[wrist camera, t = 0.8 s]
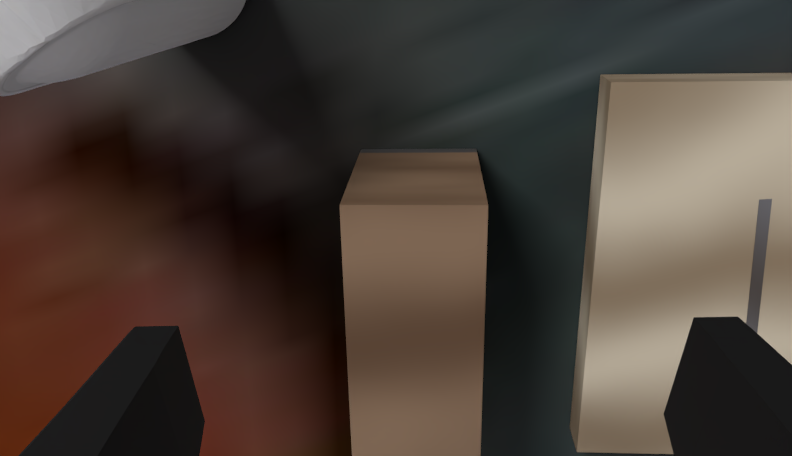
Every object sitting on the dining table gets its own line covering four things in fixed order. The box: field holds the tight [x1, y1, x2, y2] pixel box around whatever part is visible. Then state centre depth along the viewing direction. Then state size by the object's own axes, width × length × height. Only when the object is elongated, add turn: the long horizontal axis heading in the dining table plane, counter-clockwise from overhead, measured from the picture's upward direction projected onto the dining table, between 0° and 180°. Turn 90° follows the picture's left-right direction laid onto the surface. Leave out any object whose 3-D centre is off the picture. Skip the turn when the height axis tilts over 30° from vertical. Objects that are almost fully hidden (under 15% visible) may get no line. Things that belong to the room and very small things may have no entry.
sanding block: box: [339, 149, 488, 456], centre depth 23 cm, size 9×4×6 cm, turn 1°
